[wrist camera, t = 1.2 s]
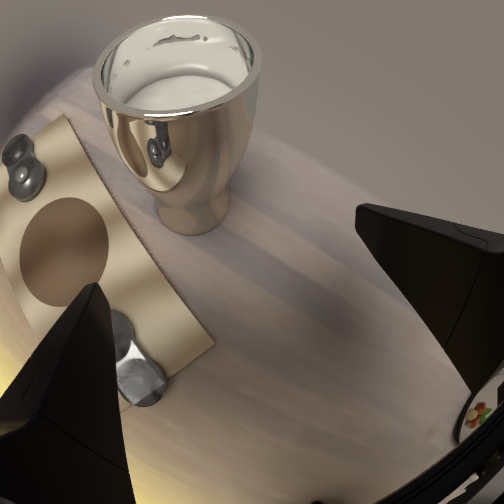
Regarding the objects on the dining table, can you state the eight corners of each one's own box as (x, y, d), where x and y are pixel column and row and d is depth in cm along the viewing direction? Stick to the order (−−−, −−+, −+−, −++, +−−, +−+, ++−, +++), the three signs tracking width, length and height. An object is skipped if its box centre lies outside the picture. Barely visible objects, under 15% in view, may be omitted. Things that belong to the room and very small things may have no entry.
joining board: (215, 342, 21) (215, 343, 20) (102, 423, 19) (97, 427, 17) (67, 118, 24) (63, 112, 23) (-15, 190, 21) (-21, 186, 20)
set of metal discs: (179, 384, 19) (176, 390, 18) (139, 412, 18) (133, 419, 17) (31, 132, 22) (23, 123, 20) (3, 157, 21) (-5, 148, 19)
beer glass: (227, 248, 23) (255, 136, 8) (140, 233, 22) (56, 118, 8) (241, 169, 25) (276, 21, 10) (161, 157, 24) (129, 11, 9)
